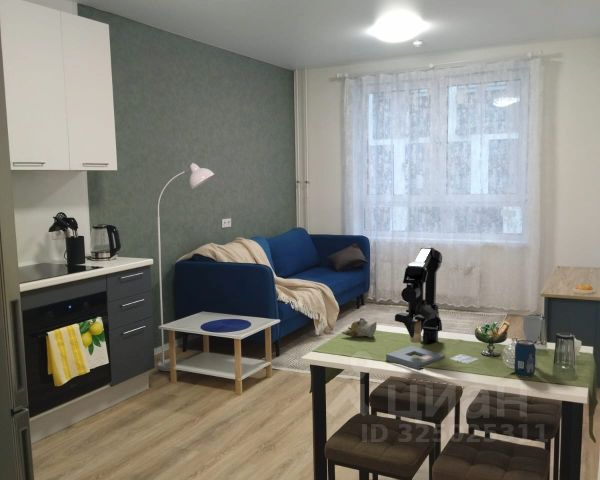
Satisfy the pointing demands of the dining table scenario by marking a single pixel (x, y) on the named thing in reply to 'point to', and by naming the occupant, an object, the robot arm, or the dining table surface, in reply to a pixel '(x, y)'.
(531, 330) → the chalice
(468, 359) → the plate
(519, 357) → the soda can
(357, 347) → the dining table surface
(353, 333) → the ceramic sculpture
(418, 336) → the peg
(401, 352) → the hole plate
